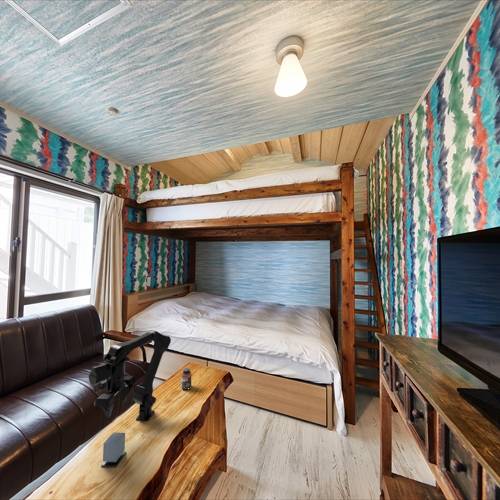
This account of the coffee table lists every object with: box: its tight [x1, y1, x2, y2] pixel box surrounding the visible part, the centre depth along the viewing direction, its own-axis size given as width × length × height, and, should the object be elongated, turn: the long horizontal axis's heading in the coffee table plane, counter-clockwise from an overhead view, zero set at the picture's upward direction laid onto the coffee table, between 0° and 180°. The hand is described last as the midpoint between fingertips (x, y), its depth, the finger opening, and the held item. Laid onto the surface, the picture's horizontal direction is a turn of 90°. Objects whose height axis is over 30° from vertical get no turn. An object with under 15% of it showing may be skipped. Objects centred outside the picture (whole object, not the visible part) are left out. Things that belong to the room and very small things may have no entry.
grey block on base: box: [102, 432, 126, 462], centre depth 83 cm, size 5×5×7 cm
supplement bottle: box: [181, 367, 192, 390], centre depth 131 cm, size 6×6×11 cm
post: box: [100, 451, 127, 469], centre depth 83 cm, size 6×6×8 cm
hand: (115, 409), depth 94 cm, fingers open, 9 cm apart
